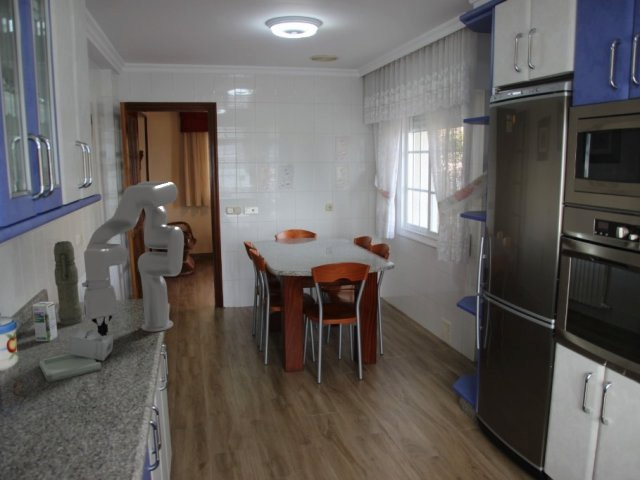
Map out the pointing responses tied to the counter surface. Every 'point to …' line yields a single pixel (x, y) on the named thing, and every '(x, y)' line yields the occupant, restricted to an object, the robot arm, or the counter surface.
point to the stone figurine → (67, 284)
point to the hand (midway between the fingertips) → (103, 334)
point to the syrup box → (45, 321)
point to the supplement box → (90, 343)
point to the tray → (67, 366)
